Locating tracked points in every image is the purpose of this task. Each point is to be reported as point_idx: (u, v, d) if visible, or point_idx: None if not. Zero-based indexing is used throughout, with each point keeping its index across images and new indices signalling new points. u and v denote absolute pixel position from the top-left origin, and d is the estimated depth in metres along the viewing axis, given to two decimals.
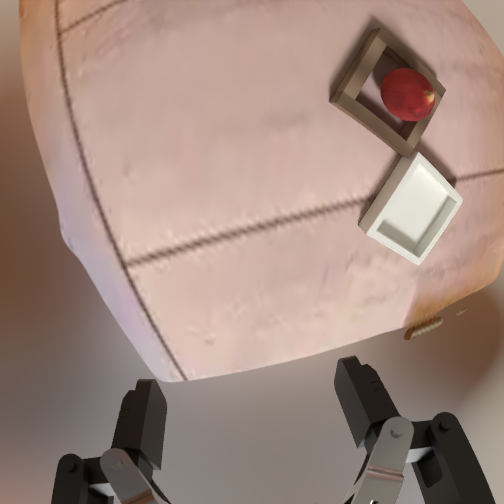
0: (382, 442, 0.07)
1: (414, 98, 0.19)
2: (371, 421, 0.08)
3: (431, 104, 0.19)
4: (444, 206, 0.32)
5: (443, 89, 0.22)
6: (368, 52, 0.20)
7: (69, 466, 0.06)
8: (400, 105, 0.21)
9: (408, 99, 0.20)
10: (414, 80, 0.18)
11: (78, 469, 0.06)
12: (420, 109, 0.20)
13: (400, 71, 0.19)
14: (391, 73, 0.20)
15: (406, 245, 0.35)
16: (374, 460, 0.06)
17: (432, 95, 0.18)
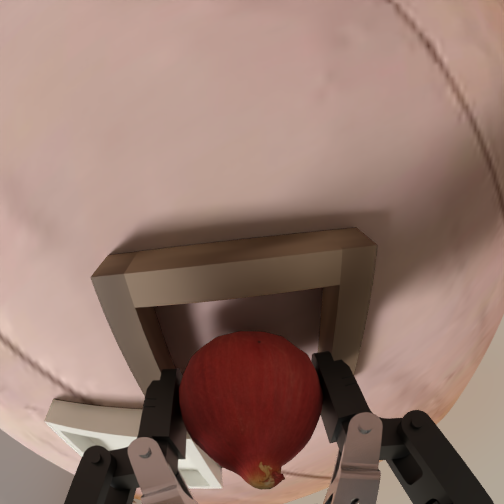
0: (348, 437, 0.07)
1: (225, 451, 0.07)
2: (339, 415, 0.08)
3: None
4: (192, 471, 0.20)
5: None
6: (277, 261, 0.10)
7: (95, 458, 0.06)
8: (189, 421, 0.08)
9: (211, 438, 0.08)
10: (278, 426, 0.07)
11: (105, 461, 0.06)
12: (218, 462, 0.08)
13: (280, 373, 0.09)
14: (259, 352, 0.09)
15: None
16: (346, 458, 0.06)
17: (265, 488, 0.06)
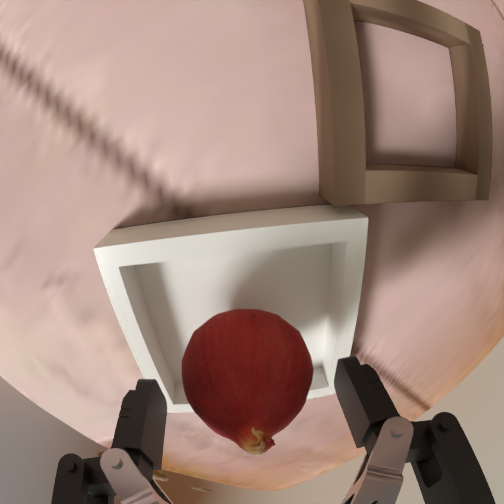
0: (382, 442, 0.07)
1: (220, 415, 0.09)
2: (371, 421, 0.08)
3: None
4: None
5: (486, 194, 0.12)
6: (437, 11, 0.07)
7: (69, 465, 0.06)
8: (190, 389, 0.10)
9: (208, 403, 0.09)
10: (269, 392, 0.09)
11: (78, 469, 0.06)
12: (214, 429, 0.09)
13: (272, 343, 0.10)
14: (254, 325, 0.10)
15: (171, 365, 0.16)
16: (374, 460, 0.06)
17: (256, 452, 0.08)
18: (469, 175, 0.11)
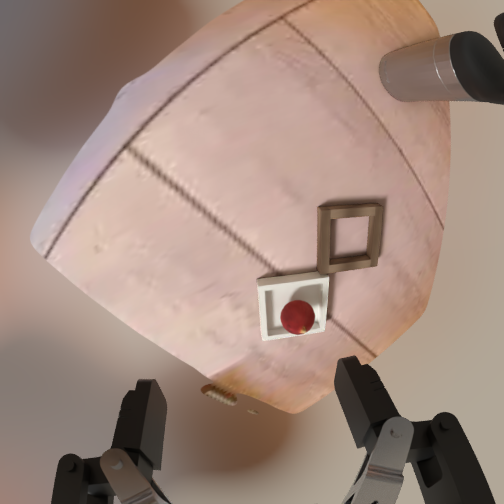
0: (382, 442, 0.07)
1: (295, 324, 0.43)
2: (371, 421, 0.08)
3: (300, 333, 0.43)
4: None
5: (375, 264, 0.46)
6: (362, 208, 0.41)
7: (69, 466, 0.06)
8: (286, 320, 0.44)
9: (292, 322, 0.43)
10: (306, 317, 0.43)
11: (78, 469, 0.06)
12: (292, 330, 0.43)
13: (305, 307, 0.44)
14: (301, 303, 0.45)
15: (267, 321, 0.50)
16: (374, 460, 0.06)
17: (304, 331, 0.42)
18: (366, 260, 0.45)
